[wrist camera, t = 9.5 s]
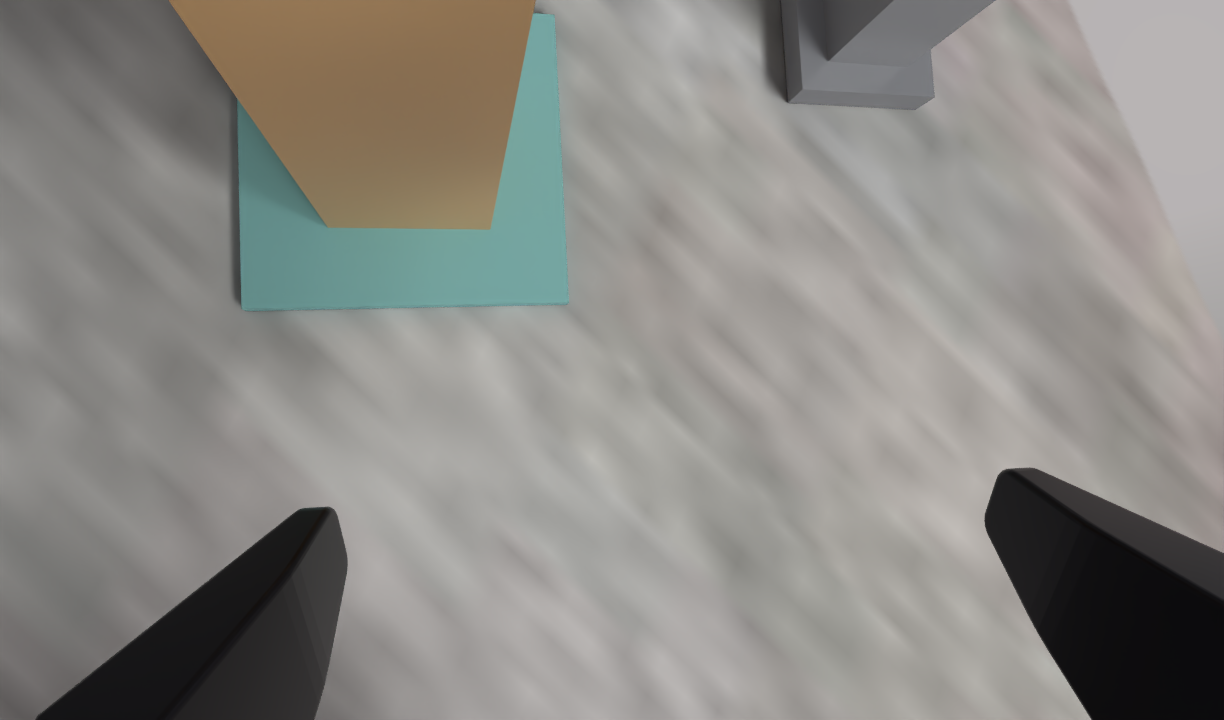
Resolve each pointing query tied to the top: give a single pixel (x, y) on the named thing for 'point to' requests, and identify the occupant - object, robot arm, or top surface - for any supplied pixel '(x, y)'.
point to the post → (867, 49)
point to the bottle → (377, 99)
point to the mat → (415, 258)
